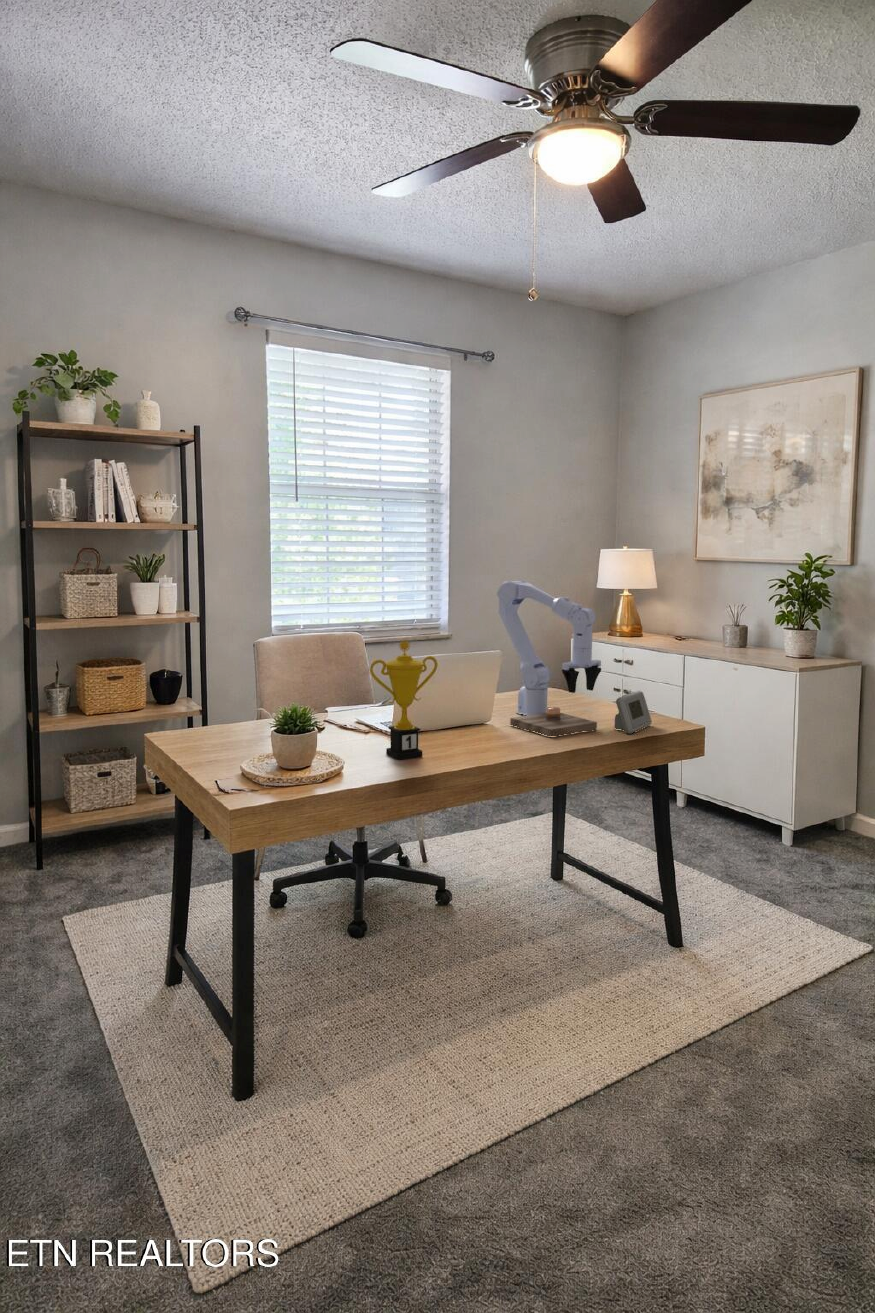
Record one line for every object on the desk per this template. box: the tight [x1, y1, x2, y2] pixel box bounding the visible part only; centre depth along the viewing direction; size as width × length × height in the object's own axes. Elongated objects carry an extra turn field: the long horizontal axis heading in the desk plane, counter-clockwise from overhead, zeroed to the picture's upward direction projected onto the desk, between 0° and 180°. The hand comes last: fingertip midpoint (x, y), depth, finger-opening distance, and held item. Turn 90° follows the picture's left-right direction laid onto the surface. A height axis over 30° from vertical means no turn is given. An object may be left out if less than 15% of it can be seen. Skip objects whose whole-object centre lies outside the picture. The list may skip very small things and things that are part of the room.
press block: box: [509, 712, 598, 736], centre depth 239 cm, size 18×18×4 cm
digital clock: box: [614, 690, 653, 734], centre depth 239 cm, size 16×9×11 cm, turn 132°
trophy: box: [369, 639, 438, 761], centre depth 205 cm, size 19×10×30 cm, turn 120°
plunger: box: [546, 706, 561, 718], centre depth 239 cm, size 4×4×6 cm
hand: (581, 691), depth 249 cm, fingers open, 7 cm apart
